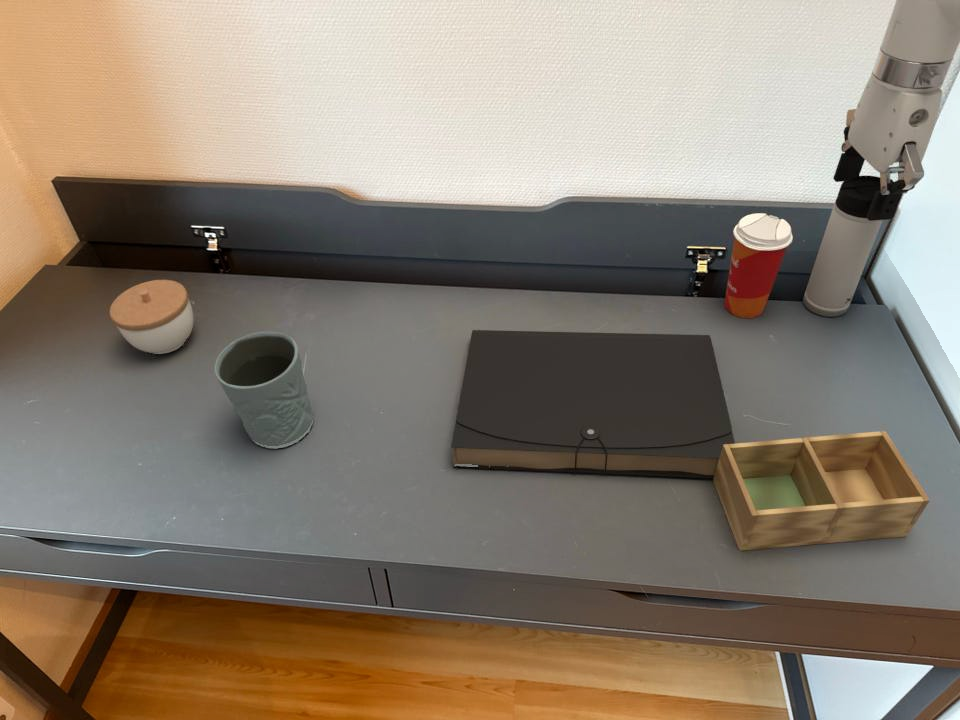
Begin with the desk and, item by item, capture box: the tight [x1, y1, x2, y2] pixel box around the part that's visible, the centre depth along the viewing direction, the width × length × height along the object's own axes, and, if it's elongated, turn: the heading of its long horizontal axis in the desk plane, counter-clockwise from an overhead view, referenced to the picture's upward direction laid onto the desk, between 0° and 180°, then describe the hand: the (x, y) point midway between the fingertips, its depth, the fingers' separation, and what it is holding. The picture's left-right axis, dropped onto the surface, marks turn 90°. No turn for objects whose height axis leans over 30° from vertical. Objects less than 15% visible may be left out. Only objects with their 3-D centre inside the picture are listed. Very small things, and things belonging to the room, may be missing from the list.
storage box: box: [712, 430, 931, 552], centre depth 77 cm, size 18×9×7 cm, turn 94°
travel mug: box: [802, 175, 895, 318], centre depth 98 cm, size 6×7×20 cm
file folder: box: [450, 329, 736, 479], centre depth 92 cm, size 33×4×24 cm
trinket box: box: [109, 279, 195, 354], centre depth 103 cm, size 11×11×9 cm
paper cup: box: [724, 212, 794, 319], centre depth 100 cm, size 8×8×14 cm
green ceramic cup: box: [213, 331, 314, 446], centre depth 89 cm, size 10×10×12 cm
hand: (861, 198), depth 93 cm, fingers open, 9 cm apart
